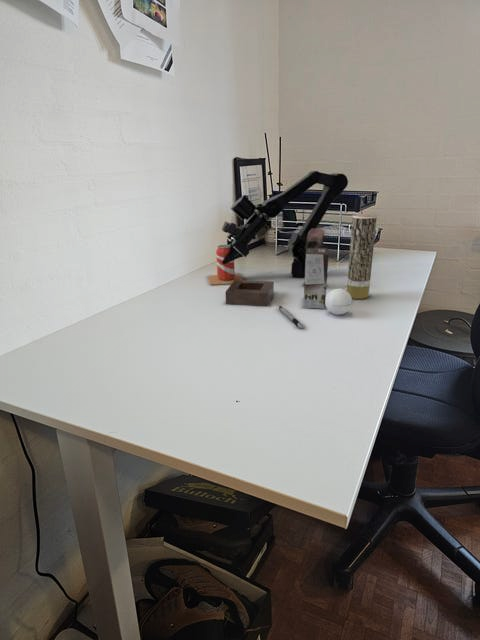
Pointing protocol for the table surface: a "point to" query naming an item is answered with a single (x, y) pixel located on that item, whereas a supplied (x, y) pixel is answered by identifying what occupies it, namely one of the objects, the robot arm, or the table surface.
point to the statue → (315, 239)
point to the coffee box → (315, 277)
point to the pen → (291, 317)
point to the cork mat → (216, 281)
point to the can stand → (250, 292)
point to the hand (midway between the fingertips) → (221, 261)
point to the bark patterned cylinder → (361, 255)
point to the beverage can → (226, 269)
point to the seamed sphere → (338, 301)
